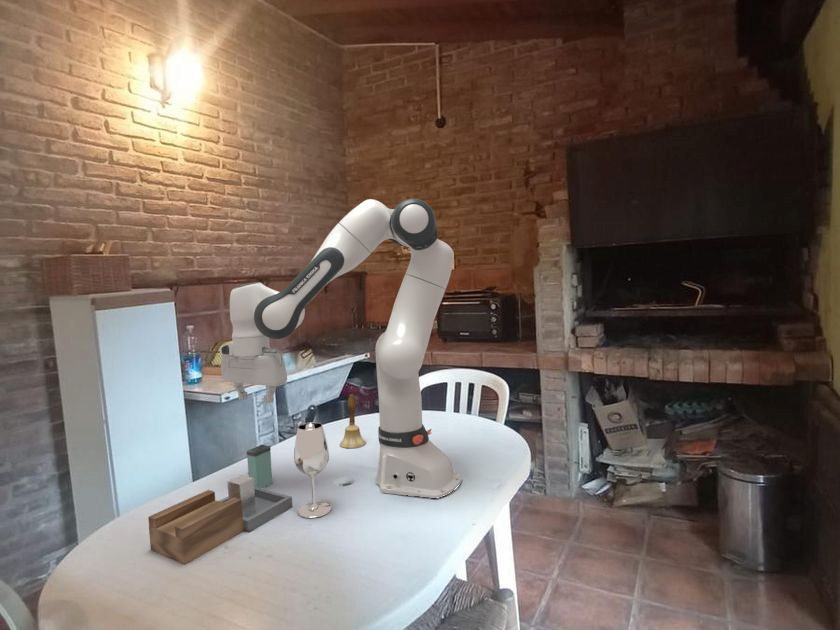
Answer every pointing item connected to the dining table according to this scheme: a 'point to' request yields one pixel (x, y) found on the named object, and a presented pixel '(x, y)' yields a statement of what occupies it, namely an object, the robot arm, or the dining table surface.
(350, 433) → the hand bell
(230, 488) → the steel block
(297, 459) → the wineglass
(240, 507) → the groove board
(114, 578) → the dining table surface
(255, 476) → the green grey block
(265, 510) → the tray
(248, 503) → the steel block
